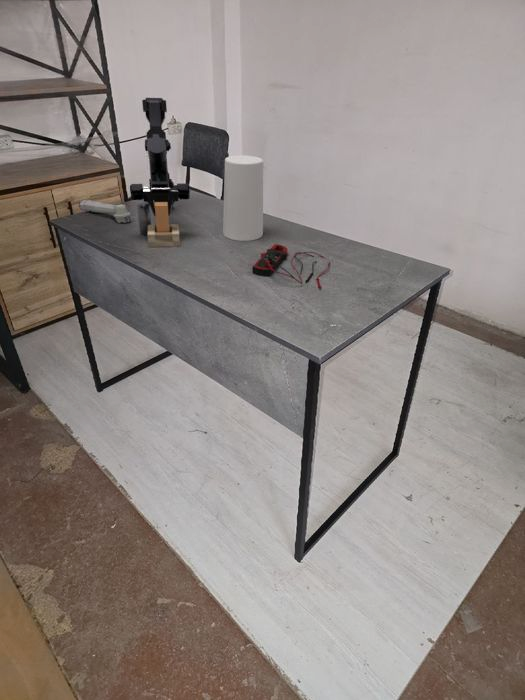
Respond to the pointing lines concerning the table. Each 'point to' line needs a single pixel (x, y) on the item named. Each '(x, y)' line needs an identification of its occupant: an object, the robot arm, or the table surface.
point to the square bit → (162, 216)
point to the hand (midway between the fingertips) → (162, 215)
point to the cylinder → (243, 198)
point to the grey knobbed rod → (106, 209)
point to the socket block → (163, 236)
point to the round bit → (144, 217)
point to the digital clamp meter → (273, 260)
